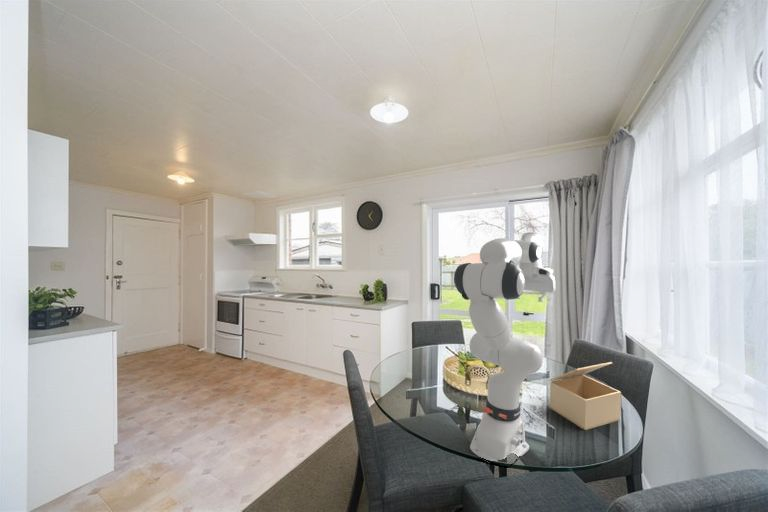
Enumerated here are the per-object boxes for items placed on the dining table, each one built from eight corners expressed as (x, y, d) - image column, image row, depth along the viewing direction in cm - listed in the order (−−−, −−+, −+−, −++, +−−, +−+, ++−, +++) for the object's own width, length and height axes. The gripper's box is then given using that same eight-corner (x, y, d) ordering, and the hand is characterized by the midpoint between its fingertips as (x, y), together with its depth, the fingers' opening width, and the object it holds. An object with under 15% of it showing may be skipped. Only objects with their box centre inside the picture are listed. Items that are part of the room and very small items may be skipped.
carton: (619, 420, 121) (621, 391, 120) (584, 430, 114) (585, 400, 114) (582, 400, 136) (583, 374, 135) (549, 408, 130) (550, 381, 129)
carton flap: (612, 363, 123) (611, 361, 123) (577, 370, 117) (576, 368, 117) (583, 374, 135) (582, 372, 136) (550, 381, 129) (549, 379, 129)
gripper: (503, 268, 135) (502, 297, 136) (553, 271, 121) (552, 304, 122) (508, 267, 139) (507, 295, 140) (557, 270, 126) (556, 302, 126)
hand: (528, 300), depth 131 cm, fingers open, 8 cm apart
